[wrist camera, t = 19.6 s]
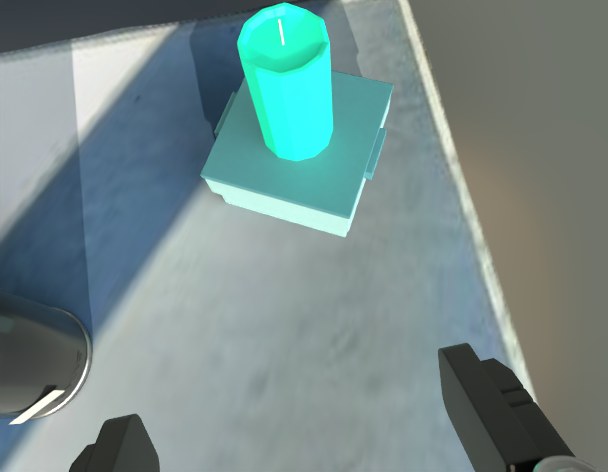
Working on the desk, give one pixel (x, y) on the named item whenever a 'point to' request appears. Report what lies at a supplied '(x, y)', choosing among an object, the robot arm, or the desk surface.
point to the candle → (289, 79)
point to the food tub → (308, 172)
